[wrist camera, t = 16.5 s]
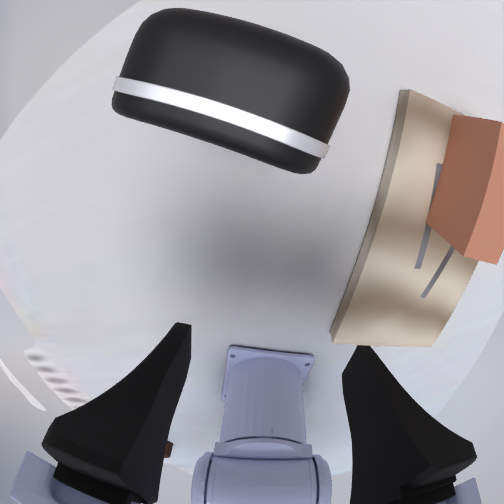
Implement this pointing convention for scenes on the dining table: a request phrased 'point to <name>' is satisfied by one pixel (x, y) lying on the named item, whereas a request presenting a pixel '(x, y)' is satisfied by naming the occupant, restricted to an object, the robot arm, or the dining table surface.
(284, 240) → the dining table surface
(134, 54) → the battery charger
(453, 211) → the block
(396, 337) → the board
